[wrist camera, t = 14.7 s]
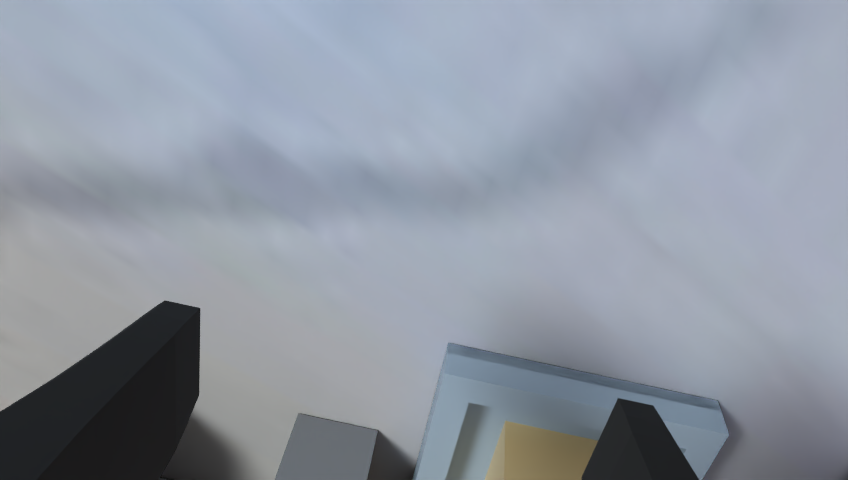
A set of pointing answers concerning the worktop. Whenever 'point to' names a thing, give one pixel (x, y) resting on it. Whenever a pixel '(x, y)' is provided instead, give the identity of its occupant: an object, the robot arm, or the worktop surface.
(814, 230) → the worktop surface
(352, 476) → the dock
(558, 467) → the tan block with handle
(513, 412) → the tray
